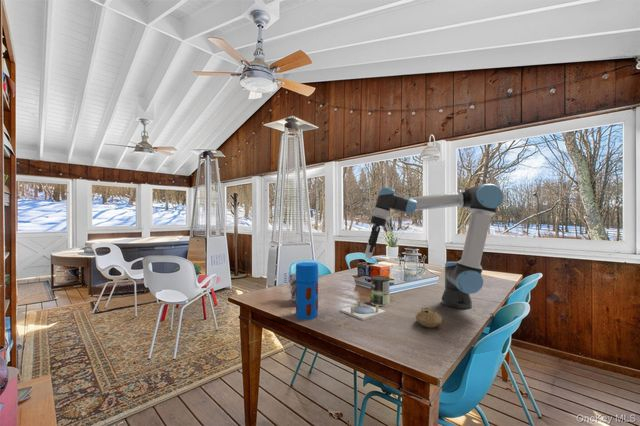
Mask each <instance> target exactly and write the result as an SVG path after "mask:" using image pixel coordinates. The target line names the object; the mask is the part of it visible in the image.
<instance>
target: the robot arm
mask: <svg viewBox="0 0 640 426" xmlns="http://www.w3.org/2000/svg"><path fill="white" fill-rule="evenodd" d="M504 197H505V196H504V192H503V190H502V189H501V187H499V186H498V185H496V184H493V183H483V184H480V185H475V186H471V187H469V188H465V189H458V190H457V191H455V192H447V193H439V194H429V195H428V194H427V195H419V196H412V197H405V196H402V195H398V194H396V190H395V189H393V188H390V187H385V186H384V187H381V188H380V190H379V193H378V196H377V199H376V202H375V206H374V208H373V209H372V211H373V212H372V213H373V214H372V216H371V219H370V223H371V224H374V225H372V227H371V231H370V235H369V238H368V241H367V242H368V243H367V245H366V249H365V251H364V255H366V256H365V258H366V259H368V260H372V257H373V254H374V252H375V248H376V246H377V242H378V237H379V235H380V232H381V226H382V227H386V223H387V219H388V217H389V214H390V210H391V209H392V210H394V211H395V212H397V213H404V214H405V213H406V214H408V215H413V214H414V213H415V212H416V211H424V210H432V209H433V210H435V209H442V208H443V209H444V208H453V207H458V208H460V209H462V208H469V210H470V212H471V216H470V219H469V225H468V227H467V232H466V237H465V241H464V244H463V249H462V255H461V258H460V260H457V261H446V262H445V264H444V289H443V293H442V296H441V304H442V305H444V306H446V307H449V308H454V309H471V308H472V307H473V301H472V297H471V295H473V294H474V295H475V294H476V293H478V292H480V290H482V288H483V286H484V278H483V276H482V274H483V267H482V265H481V262H482V258H483V253H484V249H485V245H486V244H485V243H486V240H487V236H488V231H489V228H490V224H491V223H490V222H491V218H492V217H493V216H495V215H496V214H497V211H498V210H497V209H498V207H499V206H501V205H502V203H503V202H504V200H505V199H504Z"/></svg>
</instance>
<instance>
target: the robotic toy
mask: <svg viewBox="0 0 640 426" xmlns="http://www.w3.org/2000/svg"><path fill="white" fill-rule="evenodd" d="M288 283H289V286H288V285H287V288H290V287H291V288H290V294H291V297H290V298H291V300H295V301H296V273H292V274H290V275H289V280H288Z"/></svg>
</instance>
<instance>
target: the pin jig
mask: <svg viewBox="0 0 640 426" xmlns="http://www.w3.org/2000/svg"><path fill="white" fill-rule="evenodd" d="M356 301H357V302H356V304H354V305H350V306H347V307H343V308H340V309H339V312H341V313H344V314H347V315H349V316H352V317H353V318H356V319H359V320H361V321H366V320H368V319H372V318H375V317H377V316H381V315H384V314H386V310H384V309H381V308H379V306H378V305H375V306H372V305H369V304H366V303H363V302H362V303H361V299H357V300H356Z"/></svg>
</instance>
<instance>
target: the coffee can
mask: <svg viewBox="0 0 640 426" xmlns="http://www.w3.org/2000/svg"><path fill="white" fill-rule="evenodd" d="M390 280H391V278H390V277H389V276H386V275H372V276H370V304H371V305H373V306H376V305H378V307H387V306H389V305H390Z"/></svg>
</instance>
